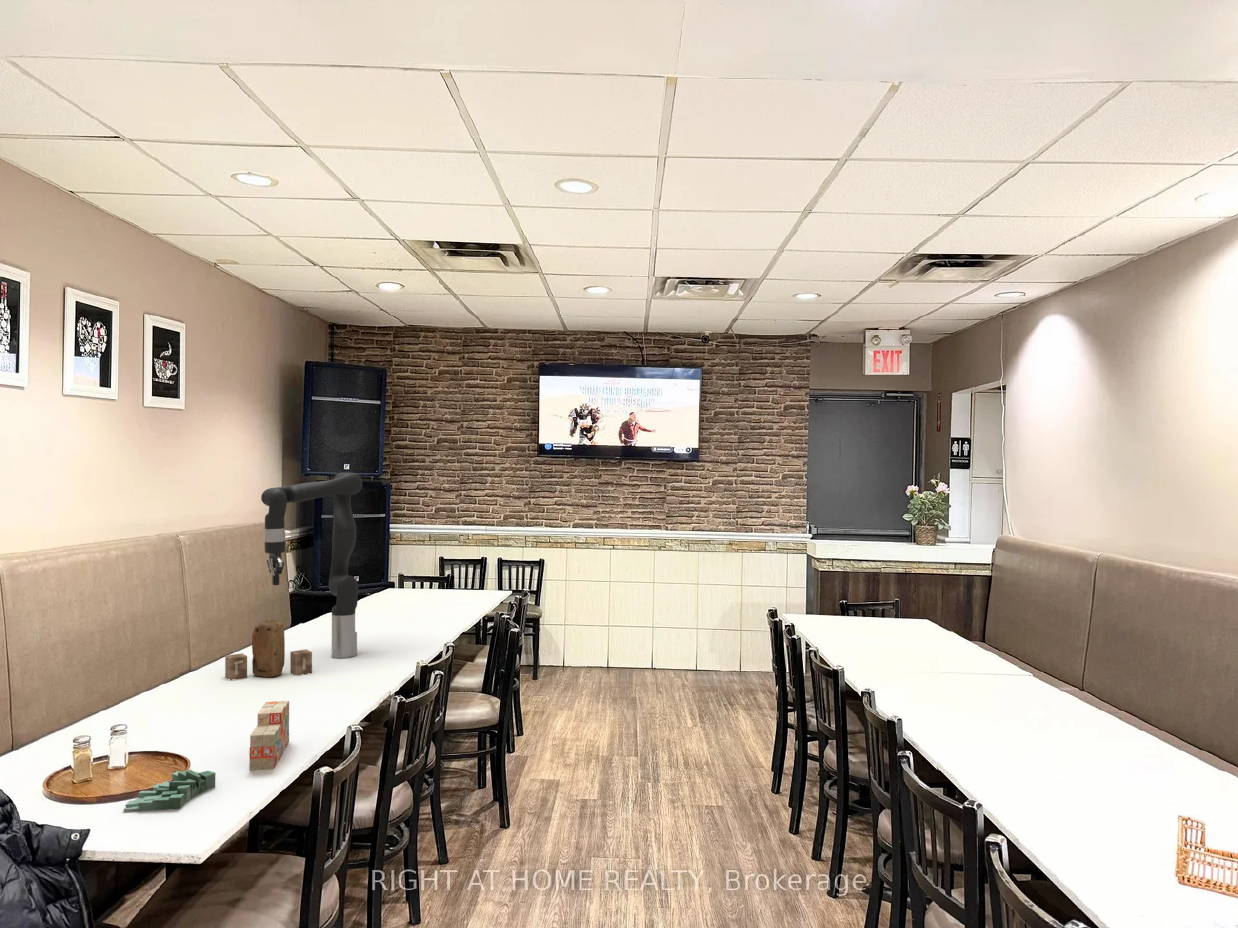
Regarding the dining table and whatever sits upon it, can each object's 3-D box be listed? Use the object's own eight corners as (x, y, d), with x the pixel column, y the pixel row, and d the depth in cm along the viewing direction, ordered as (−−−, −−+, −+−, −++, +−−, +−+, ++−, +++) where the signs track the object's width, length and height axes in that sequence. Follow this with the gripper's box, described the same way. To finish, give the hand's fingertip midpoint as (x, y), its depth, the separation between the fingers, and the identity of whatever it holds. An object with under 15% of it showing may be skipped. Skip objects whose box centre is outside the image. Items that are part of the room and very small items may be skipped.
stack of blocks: (274, 769, 220) (274, 722, 219) (248, 771, 218) (249, 723, 218) (289, 742, 240) (289, 699, 240) (266, 744, 239) (266, 700, 239)
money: (198, 809, 195) (198, 788, 195) (122, 814, 192) (122, 793, 192) (223, 777, 215) (223, 758, 215) (155, 781, 212) (155, 762, 212)
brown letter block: (242, 674, 316) (242, 653, 316) (247, 677, 311) (247, 656, 311) (225, 677, 312) (225, 655, 312) (229, 680, 307) (230, 658, 307)
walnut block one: (306, 670, 323) (306, 649, 323) (312, 673, 318) (312, 652, 318) (290, 672, 319) (290, 651, 319) (296, 675, 315) (296, 654, 314)
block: (286, 673, 317) (286, 620, 317) (274, 678, 310) (274, 624, 310) (261, 671, 320) (261, 619, 320) (248, 676, 313) (248, 622, 313)
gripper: (291, 540, 323) (291, 585, 323) (279, 538, 333) (279, 581, 333) (270, 542, 318) (271, 588, 318) (259, 539, 328) (260, 584, 328)
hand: (275, 584), depth 326 cm, fingers closed
